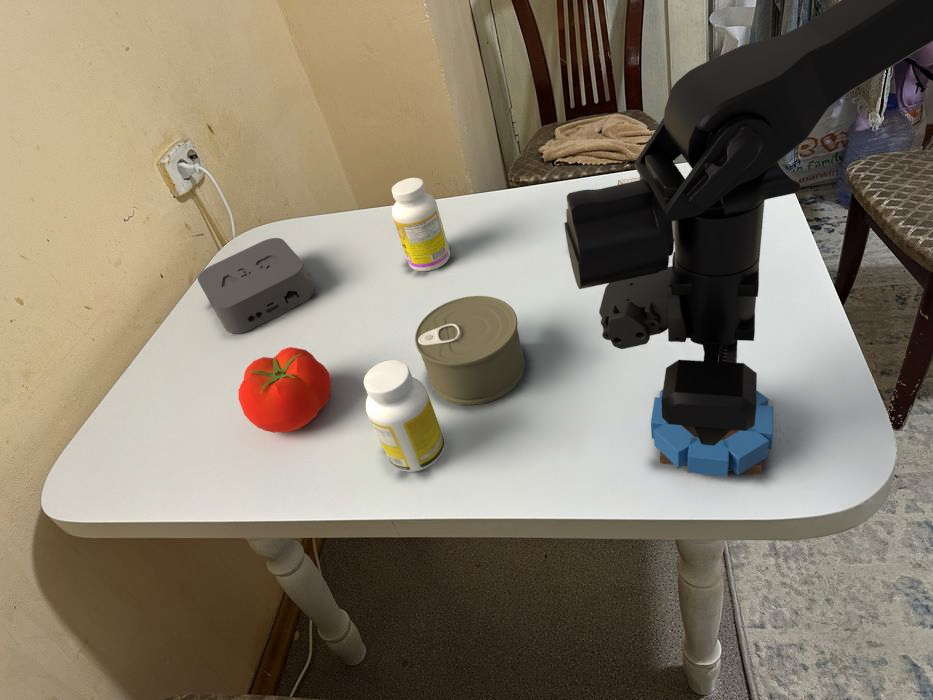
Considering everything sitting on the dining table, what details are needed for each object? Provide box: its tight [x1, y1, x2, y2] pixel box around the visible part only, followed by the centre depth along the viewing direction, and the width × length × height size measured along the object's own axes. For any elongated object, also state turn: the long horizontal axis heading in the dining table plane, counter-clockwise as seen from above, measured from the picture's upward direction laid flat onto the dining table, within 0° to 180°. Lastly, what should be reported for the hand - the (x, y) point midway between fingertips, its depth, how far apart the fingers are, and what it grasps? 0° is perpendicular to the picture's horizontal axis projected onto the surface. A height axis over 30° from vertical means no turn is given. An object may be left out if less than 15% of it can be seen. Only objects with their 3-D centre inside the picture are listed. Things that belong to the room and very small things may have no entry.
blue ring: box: [650, 389, 775, 478], centre depth 64 cm, size 11×11×2 cm
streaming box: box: [197, 237, 315, 334], centre depth 102 cm, size 14×14×5 cm
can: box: [414, 295, 526, 406], centre depth 78 cm, size 12×12×7 cm
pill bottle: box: [363, 359, 446, 473], centre depth 69 cm, size 6×6×12 cm
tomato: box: [238, 346, 332, 433], centre depth 79 cm, size 11×11×8 cm
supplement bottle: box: [391, 177, 451, 272], centre depth 97 cm, size 7×7×13 cm
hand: (711, 402), depth 57 cm, fingers open, 9 cm apart
